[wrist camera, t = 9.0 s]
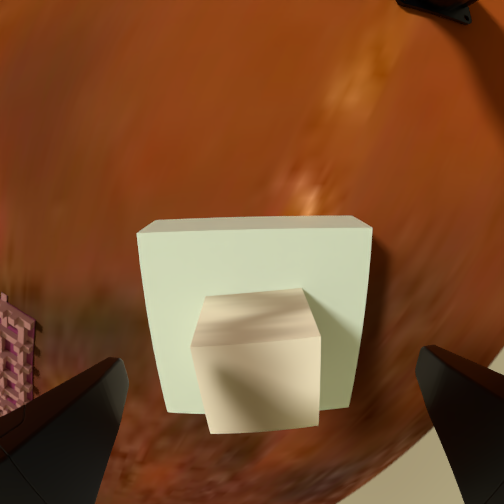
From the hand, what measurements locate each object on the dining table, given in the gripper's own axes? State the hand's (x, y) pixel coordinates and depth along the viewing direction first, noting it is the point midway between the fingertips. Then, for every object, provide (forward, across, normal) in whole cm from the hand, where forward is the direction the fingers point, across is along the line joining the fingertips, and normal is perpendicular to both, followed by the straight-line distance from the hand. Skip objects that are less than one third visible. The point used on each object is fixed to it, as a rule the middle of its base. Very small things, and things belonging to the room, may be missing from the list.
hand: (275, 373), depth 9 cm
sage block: (+12, 0, +4) cm, 13 cm away
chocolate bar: (+12, +25, +11) cm, 30 cm away
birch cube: (+8, 0, +4) cm, 9 cm away
